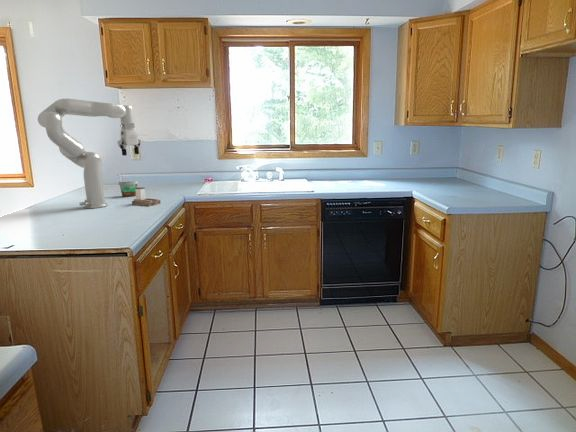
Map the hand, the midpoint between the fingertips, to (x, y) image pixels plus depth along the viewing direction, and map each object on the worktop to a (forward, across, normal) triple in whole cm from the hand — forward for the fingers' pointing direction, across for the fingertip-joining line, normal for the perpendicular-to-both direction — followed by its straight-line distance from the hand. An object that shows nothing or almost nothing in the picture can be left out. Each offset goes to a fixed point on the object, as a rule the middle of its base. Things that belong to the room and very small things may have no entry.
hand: (130, 154), depth 257 cm
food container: (+28, +8, +14) cm, 33 cm away
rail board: (+28, -7, -16) cm, 33 cm away
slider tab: (+26, -7, -12) cm, 30 cm away
